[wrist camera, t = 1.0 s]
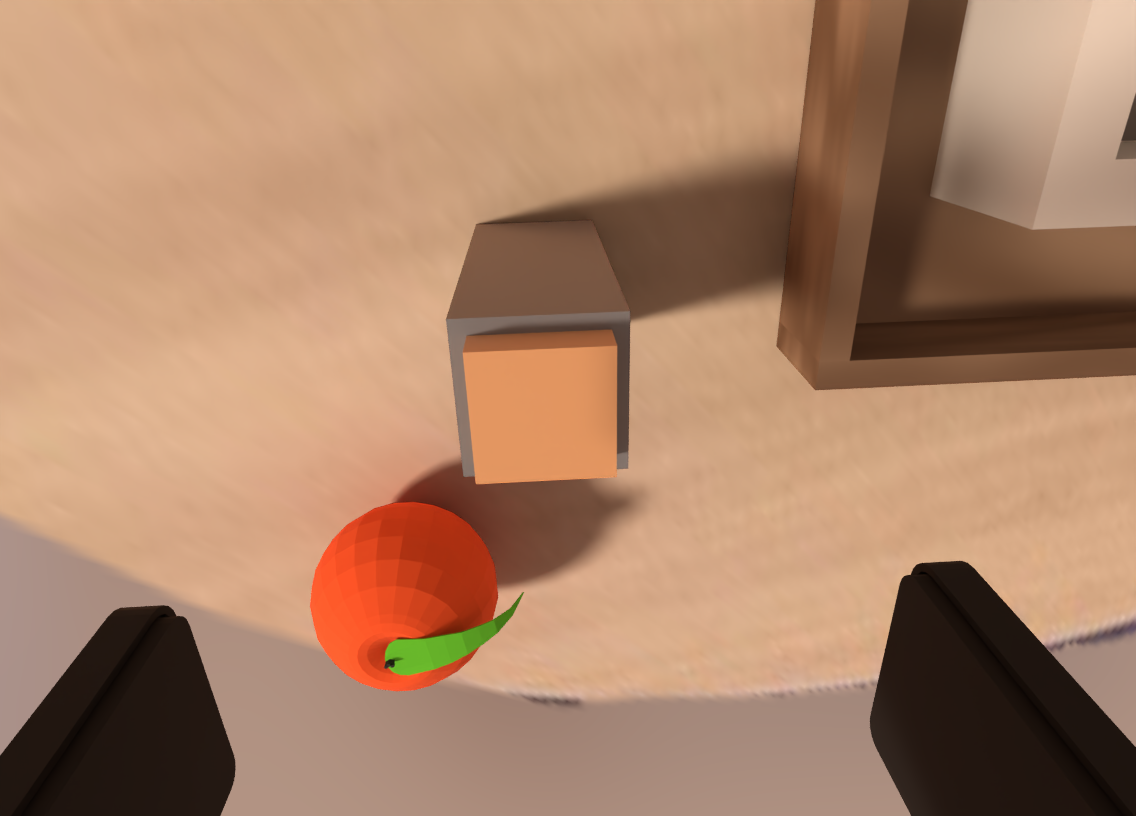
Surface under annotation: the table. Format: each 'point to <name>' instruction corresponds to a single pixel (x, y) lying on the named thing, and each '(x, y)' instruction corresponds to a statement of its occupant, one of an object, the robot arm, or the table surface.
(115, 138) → the table surface
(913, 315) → the crate
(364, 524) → the clementine
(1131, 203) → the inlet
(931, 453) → the table surface
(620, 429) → the plug
